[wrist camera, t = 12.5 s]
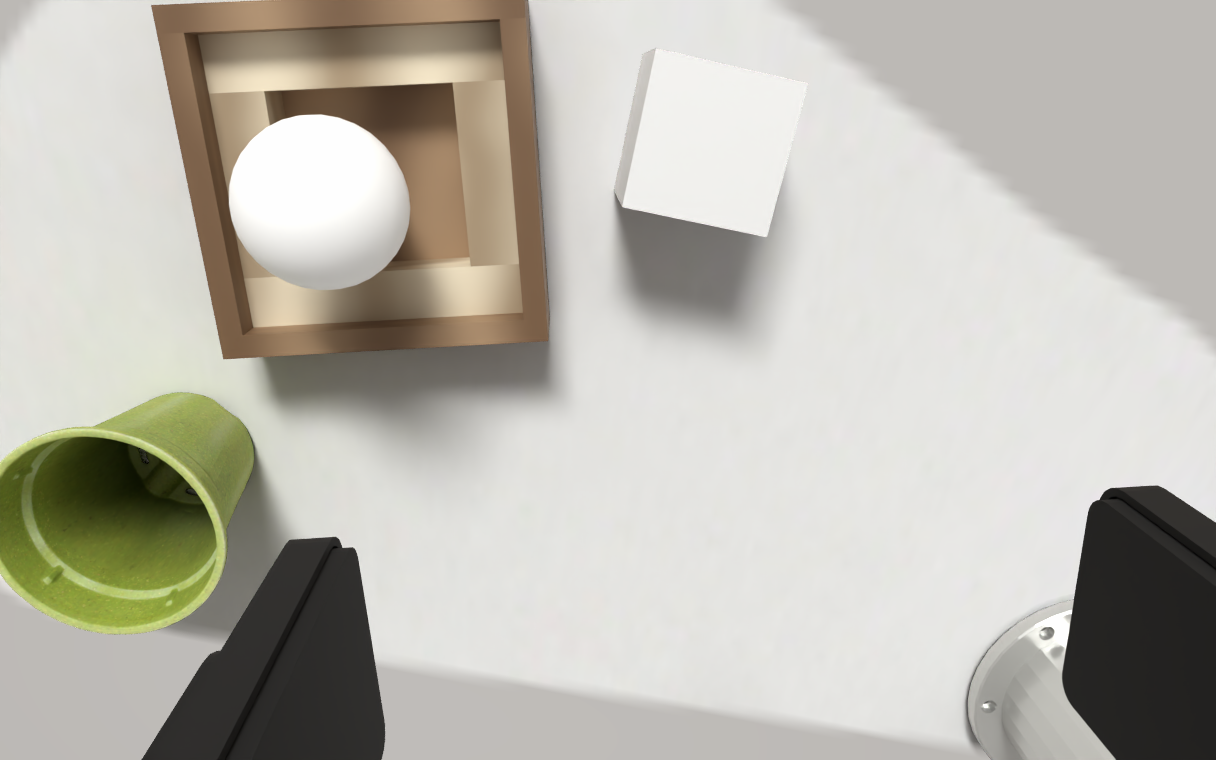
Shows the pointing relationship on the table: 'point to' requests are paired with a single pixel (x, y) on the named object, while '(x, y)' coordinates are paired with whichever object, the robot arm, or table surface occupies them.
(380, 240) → the lightbulb
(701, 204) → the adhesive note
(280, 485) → the table surface
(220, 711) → the robot arm
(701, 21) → the table surface
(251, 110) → the socket box
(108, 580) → the plant pot
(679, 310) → the table surface
